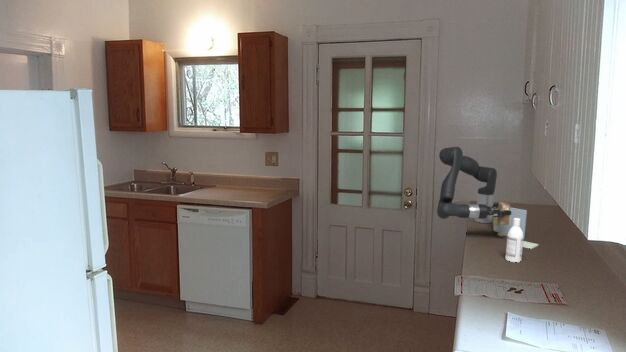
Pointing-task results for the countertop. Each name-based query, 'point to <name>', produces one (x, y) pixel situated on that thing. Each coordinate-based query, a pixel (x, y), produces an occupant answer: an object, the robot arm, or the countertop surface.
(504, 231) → the screen
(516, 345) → the countertop surface
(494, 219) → the coffee cup
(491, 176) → the robot arm
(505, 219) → the brown wooden block
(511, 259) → the bath foam
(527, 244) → the mat
